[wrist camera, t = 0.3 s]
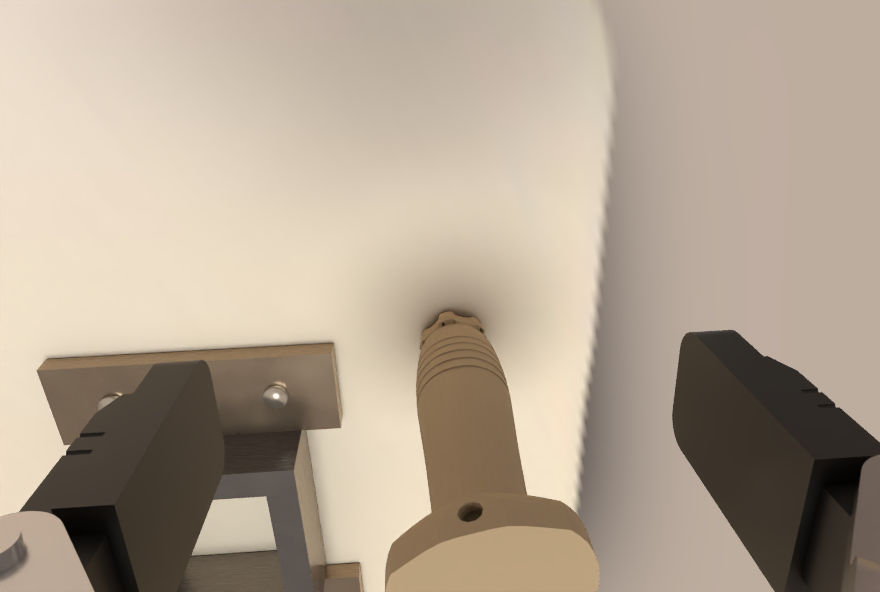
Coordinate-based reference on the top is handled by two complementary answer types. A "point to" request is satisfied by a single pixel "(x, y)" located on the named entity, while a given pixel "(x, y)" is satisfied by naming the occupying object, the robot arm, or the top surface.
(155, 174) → the top surface
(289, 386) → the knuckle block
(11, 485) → the top surface
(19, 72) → the top surface
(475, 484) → the handle
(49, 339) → the top surface
